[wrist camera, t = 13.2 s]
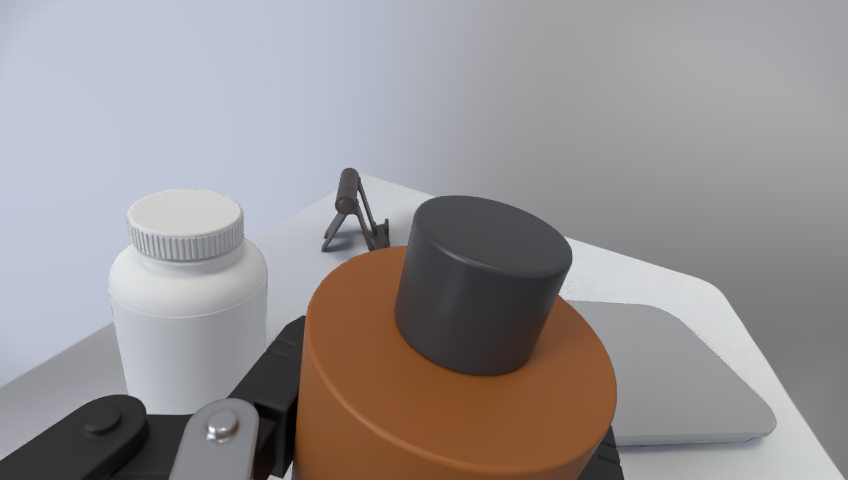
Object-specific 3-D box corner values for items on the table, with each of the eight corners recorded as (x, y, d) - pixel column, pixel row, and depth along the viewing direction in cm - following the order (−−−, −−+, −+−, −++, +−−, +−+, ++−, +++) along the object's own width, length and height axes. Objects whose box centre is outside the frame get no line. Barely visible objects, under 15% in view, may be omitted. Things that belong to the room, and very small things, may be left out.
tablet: (449, 310, 43) (454, 293, 42) (657, 321, 49) (666, 306, 48) (497, 459, 29) (507, 439, 28) (778, 448, 35) (795, 431, 34)
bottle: (236, 672, 10) (225, 260, 4) (331, 464, 15) (382, 144, 9) (458, 764, 9) (764, 427, 4) (480, 517, 14) (629, 211, 9)
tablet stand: (388, 270, 47) (400, 204, 43) (318, 262, 46) (324, 194, 42) (386, 233, 55) (397, 174, 51) (326, 226, 53) (332, 165, 50)
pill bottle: (207, 476, 24) (188, 267, 17) (102, 422, 26) (45, 209, 19) (288, 383, 31) (297, 205, 24) (201, 344, 33) (186, 167, 26)
